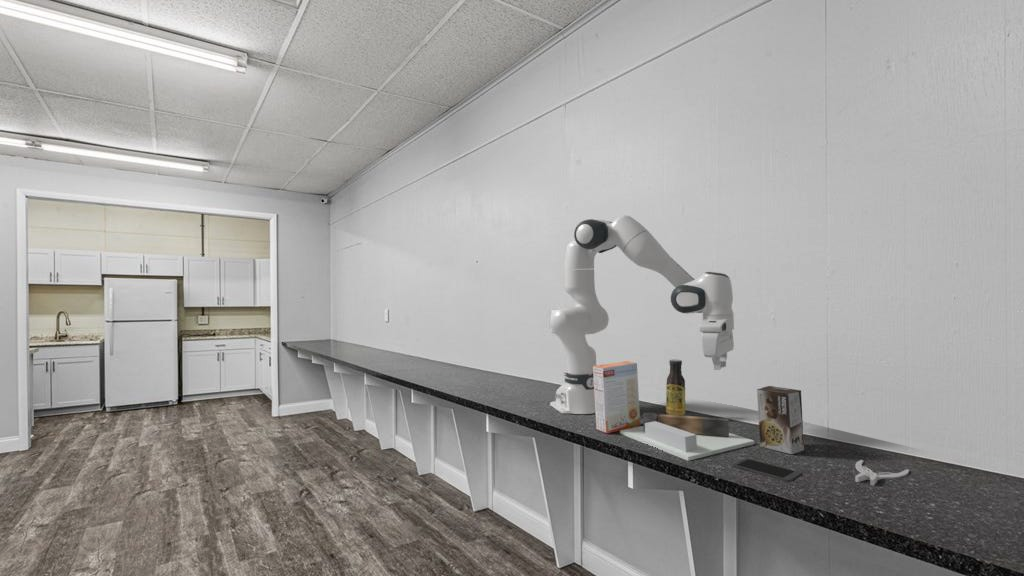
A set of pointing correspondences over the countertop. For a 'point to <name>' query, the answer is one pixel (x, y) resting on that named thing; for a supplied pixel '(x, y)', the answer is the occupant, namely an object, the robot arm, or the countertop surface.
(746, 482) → the countertop surface
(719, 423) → the lever
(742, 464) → the cell phone
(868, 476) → the pliers
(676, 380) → the sauce bottle
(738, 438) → the press board
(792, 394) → the coffee box
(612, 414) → the cracker box
